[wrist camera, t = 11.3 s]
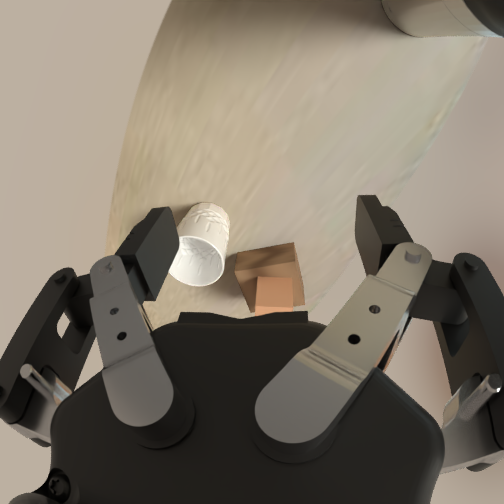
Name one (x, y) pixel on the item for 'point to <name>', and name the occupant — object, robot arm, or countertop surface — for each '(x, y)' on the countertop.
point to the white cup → (201, 245)
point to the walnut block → (268, 270)
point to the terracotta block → (273, 295)
